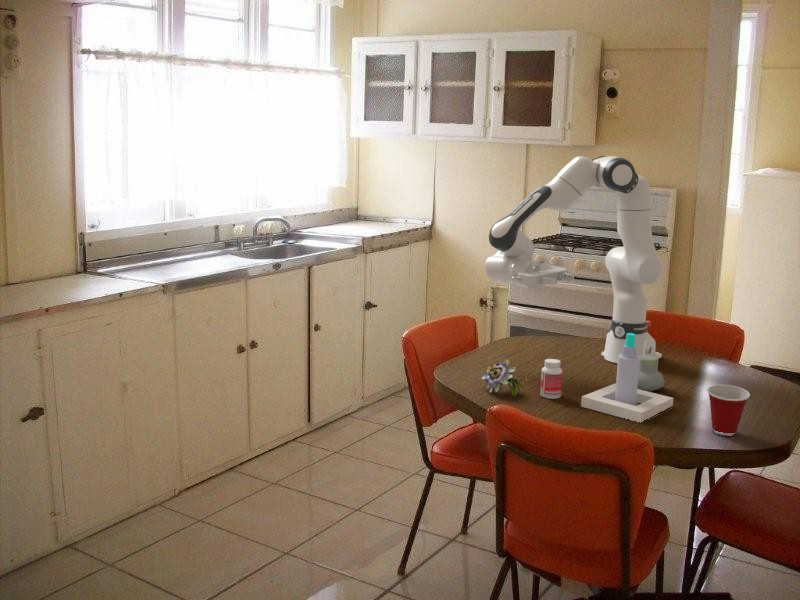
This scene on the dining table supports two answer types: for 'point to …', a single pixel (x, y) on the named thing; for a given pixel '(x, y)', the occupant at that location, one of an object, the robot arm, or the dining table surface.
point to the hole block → (607, 404)
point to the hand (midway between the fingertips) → (564, 280)
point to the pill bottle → (551, 379)
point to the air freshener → (649, 374)
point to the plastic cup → (726, 406)
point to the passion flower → (502, 378)
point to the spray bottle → (627, 372)
